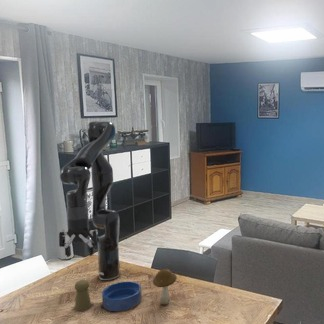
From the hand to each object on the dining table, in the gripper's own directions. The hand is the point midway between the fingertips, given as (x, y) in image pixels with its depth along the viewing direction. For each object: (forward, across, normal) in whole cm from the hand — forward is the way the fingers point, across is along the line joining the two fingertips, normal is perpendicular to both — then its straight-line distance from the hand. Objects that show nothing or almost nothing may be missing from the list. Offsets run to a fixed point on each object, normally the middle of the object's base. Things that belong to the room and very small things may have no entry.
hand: (80, 255), depth 135 cm
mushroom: (+22, -33, +1) cm, 40 cm away
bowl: (+22, -15, -2) cm, 27 cm away
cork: (+22, 0, 0) cm, 22 cm away
